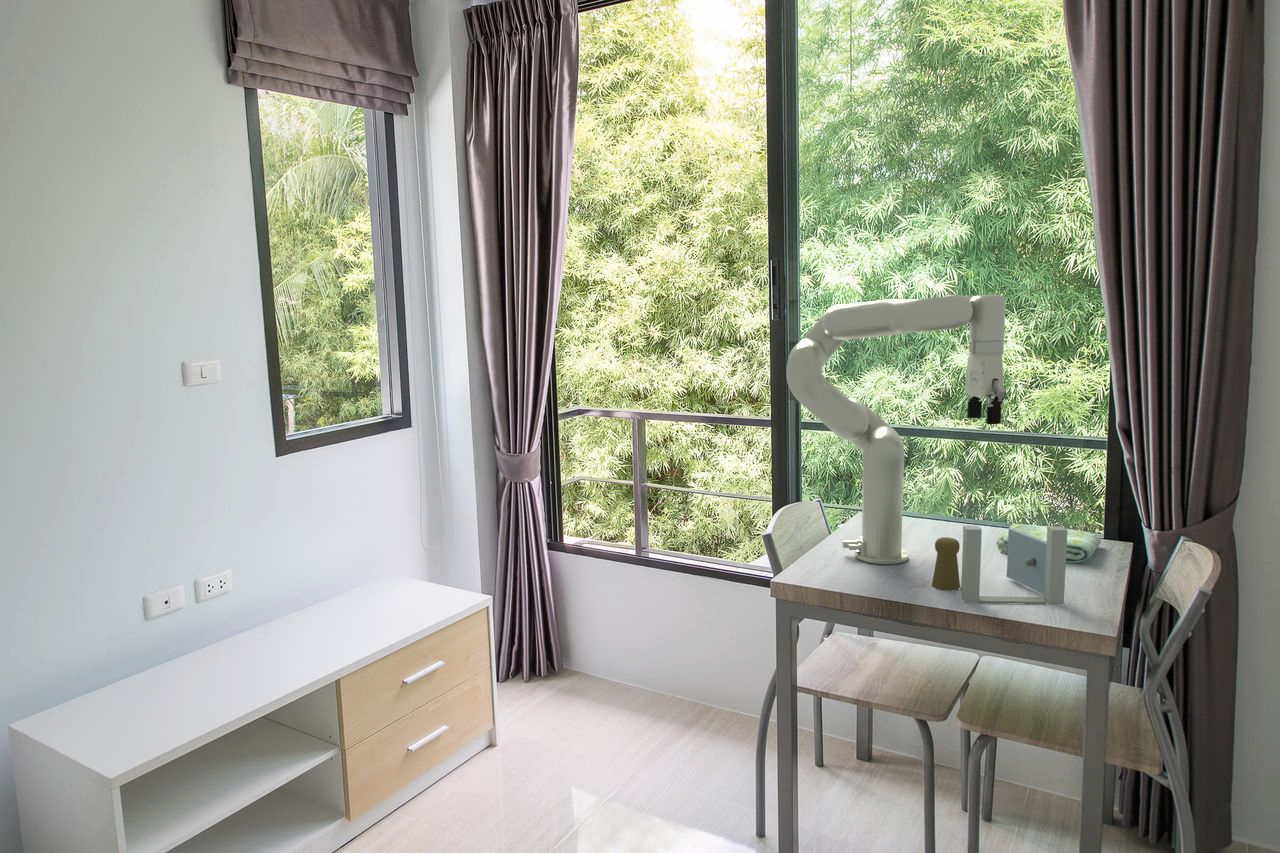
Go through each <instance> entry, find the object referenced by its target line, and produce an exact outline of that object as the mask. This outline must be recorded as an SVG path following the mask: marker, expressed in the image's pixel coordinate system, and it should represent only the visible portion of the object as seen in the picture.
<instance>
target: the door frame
mask: <svg viewBox="0 0 1280 853" xmlns="http://www.w3.org/2000/svg"><path fill="white" fill-rule="evenodd" d="M1046 526H1047V545H1046V566H1045V587H1044V595H1043V597H1041V596H1003V595H997V596H996V595H993V596H991V595H980V591H981V590H980V589H981V586H980V585H981V563H982V562H981V558H982V557H981V556H982V536H983V535H982V532H983V530H982V528H981V527H980V526H979V525H963V527H962V556H961V557H962V558H961V562H962V563H961V581H960V589H961V591H960V599H961V600H962V602H963V601H964V602H963V603H964V604H1001V603H1003V604H1004V603H1025V604H1024V605H1047V604H1048V605H1058V604H1065V603H1064V602H1065V588H1066V587H1065V586H1066V567H1067V563H1066V550H1067V531H1068V530H1067V529H1068V528H1065V527H1064V526H1062V525H1061V526H1060V525H1059V526H1056V525H1053V526H1052V525H1049V526H1048V525H1046ZM1046 601H1047V602H1046Z"/></svg>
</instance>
